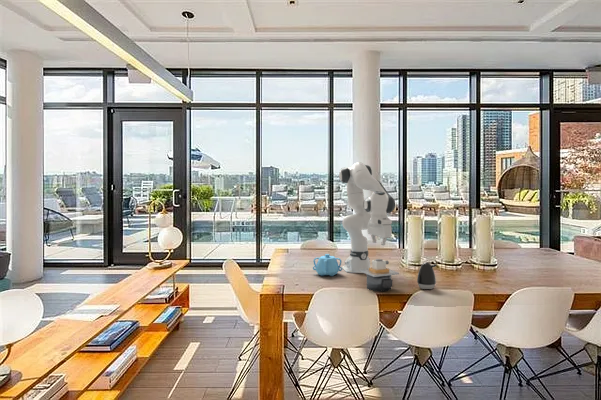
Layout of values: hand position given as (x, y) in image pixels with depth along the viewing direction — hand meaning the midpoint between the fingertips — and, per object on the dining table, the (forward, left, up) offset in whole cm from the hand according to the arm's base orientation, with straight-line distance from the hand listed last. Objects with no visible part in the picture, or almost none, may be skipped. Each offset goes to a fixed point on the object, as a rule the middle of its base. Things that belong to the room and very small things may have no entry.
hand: (378, 243), depth 244 cm
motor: (0, 0, -26) cm, 26 cm away
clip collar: (0, 0, -16) cm, 16 cm away
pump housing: (0, +1, -16) cm, 16 cm away
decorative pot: (-44, -12, -26) cm, 52 cm away
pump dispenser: (+12, +24, -26) cm, 37 cm away
